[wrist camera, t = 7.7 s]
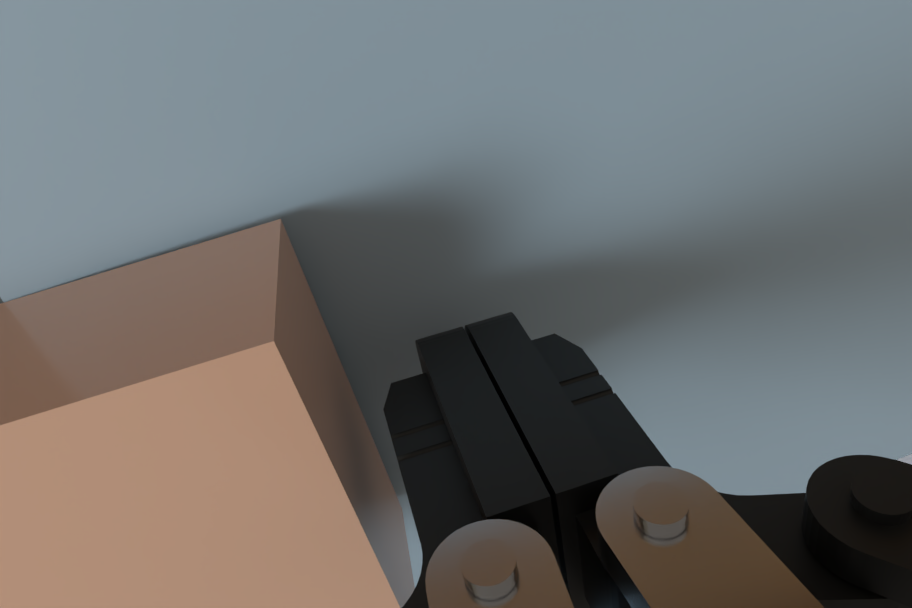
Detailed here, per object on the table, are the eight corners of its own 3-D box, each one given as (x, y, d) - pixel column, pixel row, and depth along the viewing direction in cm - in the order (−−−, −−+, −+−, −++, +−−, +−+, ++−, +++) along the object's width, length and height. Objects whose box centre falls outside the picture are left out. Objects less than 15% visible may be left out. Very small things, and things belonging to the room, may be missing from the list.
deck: (1062, -306, 13) (1345, -375, 10) (930, 316, 21) (1065, 398, 17) (-69, -59, 11) (-211, -36, 7) (249, 545, 18) (251, 693, 15)
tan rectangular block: (280, 218, 10) (273, 341, 7) (401, 508, 13) (427, 664, 10) (-379, 419, 9) (-631, 620, 7) (-85, 663, 13) (-183, 861, 10)
